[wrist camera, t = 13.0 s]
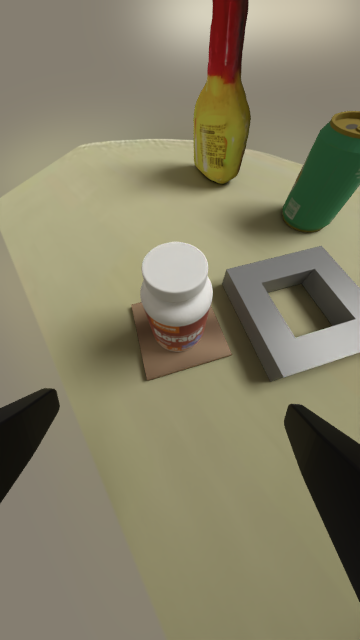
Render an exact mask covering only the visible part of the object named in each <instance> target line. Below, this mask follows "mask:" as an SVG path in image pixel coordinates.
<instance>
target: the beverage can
mask: <svg viewBox="0 0 360 640" xmlns="http://www.w3.org/2000/svg"><path fill="white" fill-rule="evenodd" d="M359 185H360V111H347V112H341V113H338V114H335V115H334V116H333V117H332V119H331V121H330V122H329V123H328V124H327V125H326V126H324V128H322V129H321V130H320V133H319V134H318V137H317V138H316V141H315V143H314V145H313V147H312V149H311V151H310V153H309V155H308V157H307V159H306V161H305V163H304V165H303V167H302V169H301V171H300V173H299V175H298V177H297V179H296V181H295V184H294V186H293V188H292V190H291V192H290V194H289V196H288V198H287V200H286V202H285V204H284V206H283V215H282V216H283V220H284V222H285V223H286V224H287V225H288V226H290V227H291V228H293V229H295V230H298V231H302V232H316V231H319V230H320V229H322V228H323V227H325V226H327V225H328V224H329V223H330V222H331V221H332V220H333V219H334V217H335V216H336V215H337V213H338V212H339V211H340V210H341V208H342V207H343V206H344V204H345V203H346V202H347V201H348V199H349V198H350V197H351V196H352V194H353V193H354V192H355V190H356V189H357V188H358V187H359Z"/></svg>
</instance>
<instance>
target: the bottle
mask: <svg viewBox="0 0 360 640" xmlns="http://www.w3.org/2000/svg"><path fill="white" fill-rule="evenodd" d="M247 12H248V0H213V16H212V24H211V31H210V44H209V63H208V77H207V82H206V84H205V86H204V88H203V90H202V91H201V93H200V95H199V97H198V99H197V102H196V105H195V111H194V120H193V121H194V162H195V165H196V166H197V168H198V169H199V170H200V171H201V172H202V173H203V174H204V175H205V176H206V177H208V178H209V179H210V180H213V181H215V182H217V183H221V184H224V183H226V182H228V181H229V180H231V179H233V178H234V177H236V176H237V174H238V172H239V170H240V166H241V162H242V158H243V155H244V152H245V148H246V142H247V138H248V133H249V126H250V120H251V118H250V117H251V116H250V110H249V106H248V103H247V100H246V95H245V91H244V88H243V85H242V82H241V61H242V50H243V43H244V35H245V26H246V20H247V14H248V13H247Z"/></svg>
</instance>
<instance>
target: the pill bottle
mask: <svg viewBox="0 0 360 640" xmlns="http://www.w3.org/2000/svg"><path fill="white" fill-rule="evenodd" d="M142 274H143V278H144V281H143V283H142V286H141V294H140V295H141V301H142V305H143V308H144V310H145V313H146V316H147V318H148V321H149V324H150V326H151V329H152V332H153V334H154V337H155V339H156V340H157V342H158V343H159V344H160V345H161V346H162V347H164V348H165V349H167V350H170V351H175V352H182V351H186V350H189V349H191V348H192V347H194V346H195V345H196V344H197V343H198V342H199V341H200V339H201V338H202V335H203V332H204V329H205V325H206V321H207V317H208V313H209V310H210V306H211V302H212V297H213V289H212V285H211V282H210V280H209V278H208V276H207V274H208V262H207V259H206V257H205V256H204V254H203V253H202V252H201V251H200V250H199V249H198V248H196V247H194V246H193V245H190V244H187V243H183V242H168V243H164V244H161V245H159V246H157V247H155V248H153V249H152V250H151V251H149V253H148V254H147V255H146V256H145V258H144V260H143V263H142Z"/></svg>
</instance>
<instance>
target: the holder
mask: <svg viewBox="0 0 360 640" xmlns="http://www.w3.org/2000/svg"><path fill="white" fill-rule="evenodd" d="M297 284H302V285H303V286H304V288H305V289H306V290H307V292H308V293H309V294H310V296H311V297H312V298H313V300H314V301H315V303H316V304H317V305H318V307H319V308H320V309H321V311H322V312H323V313H324V315H325V316H326V318H327V319H328V320H329V322H330V323H331V324H332V327H329V328H325V329H322V330H319V331H315V332H312V333H309V334H306V335H302V336H299V337H296V338H295V337H294V335H293V333H292V332H291V330H290V328H289V327H288V325H287V324H286V322H285V320H284V319H283V317H282V315H281V314H280V312H279V311H278V309H277V307H276V306H275V304H274V302H273V301H272V299H271V298H270V296H269V294H268V292H272V291H275V290H279V289H283V288H286V287H290V286H294V285H297ZM222 285H223V287H224V289H225V291H226V293H227V295H228V297H229V299H230V301H231V303H232V305H233V307H234V309H235V311H236V313H237V315H238V317H239V319H240V321H241V323H242V325H243V327H244V329H245V331H246V333H247V335H248V337H249V339H250V341H251V343H252V345H253V347H254V349H255V351H256V353H257V355H258V357H259V360H260V362H261V364H262V366H263V368H264V370H265V372H266V374H267V376H268V378H269V380H270V382H272V381H275V380H278V379H281V378H284V377H287V376H290V375H293V374H296V373H299V372H302V371H305V370H308V369H311V368H314V367H317V366H320V365H323V364H326V363H329V362H332V361H335V360H338V359H341V358H344V357H347V356H350V355H353V354H356V353H359V352H360V288H359V287H358V286H357V285H356V284H355V282H354V281H353V280H352V279H351V278H350V277H349V276H348V275H347V274H346V272H345V271H344V270H343V269H342V268H341V267H340V266H339V265H338V264H337V262H336V261H335V260H334V259H333V258H332V257H331V256H330V255H329V254H328V252H327V251H326V250H325V249H324V248H323V247H322V246H319V247H315V248H311V249H307V250H303V251H299V252H295V253H291V254H287V255H283V256H279V257H275V258H271V259H267V260H263V261H258V262H254V263H250V264H246V265H242V266H238V267H234V268H230V269H226V273H225V276H224V279H223V283H222Z"/></svg>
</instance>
